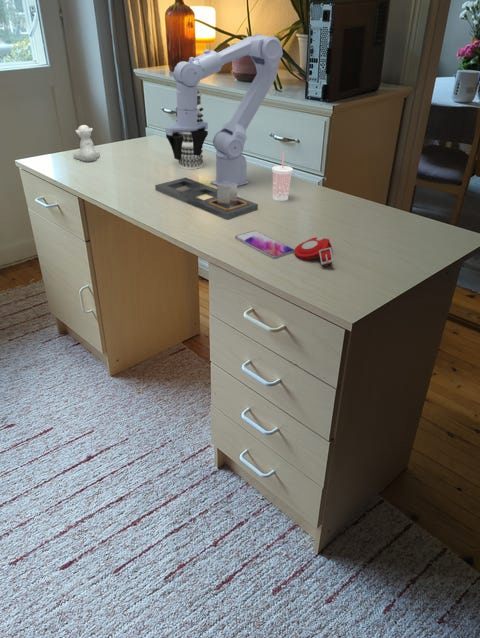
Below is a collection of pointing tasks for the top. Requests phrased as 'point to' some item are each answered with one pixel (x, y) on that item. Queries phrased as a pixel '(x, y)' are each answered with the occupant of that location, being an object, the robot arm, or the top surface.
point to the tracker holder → (315, 250)
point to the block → (227, 194)
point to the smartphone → (264, 244)
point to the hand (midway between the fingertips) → (187, 157)
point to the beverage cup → (281, 181)
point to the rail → (207, 204)
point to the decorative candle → (191, 144)
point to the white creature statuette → (86, 145)
